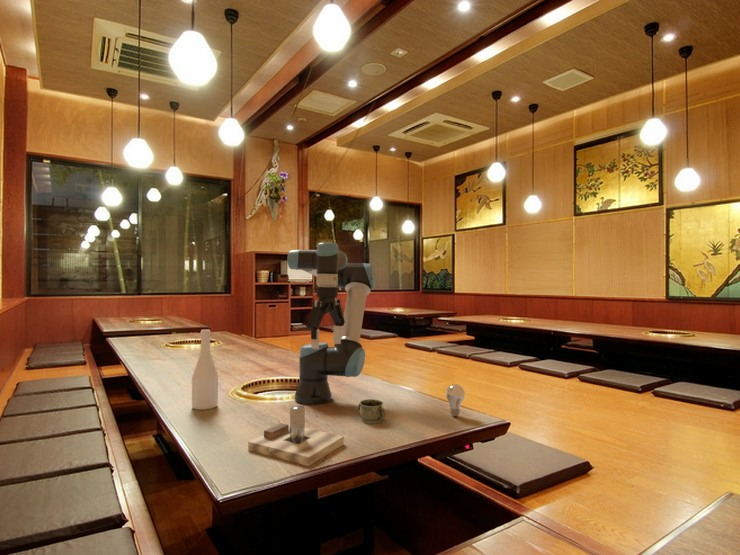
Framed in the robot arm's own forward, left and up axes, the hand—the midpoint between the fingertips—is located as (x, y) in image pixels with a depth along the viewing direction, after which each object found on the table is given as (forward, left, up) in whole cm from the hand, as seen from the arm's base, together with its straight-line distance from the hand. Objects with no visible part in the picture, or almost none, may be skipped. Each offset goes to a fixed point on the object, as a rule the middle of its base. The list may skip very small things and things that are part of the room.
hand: (326, 346), depth 158 cm
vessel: (+13, +10, -27) cm, 32 cm away
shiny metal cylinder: (+6, -24, -27) cm, 36 cm away
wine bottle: (-50, -10, -27) cm, 58 cm away
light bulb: (+38, +29, -27) cm, 55 cm away
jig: (+6, -24, -27) cm, 36 cm away
